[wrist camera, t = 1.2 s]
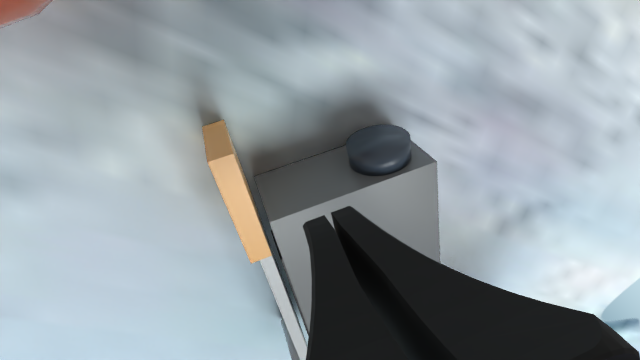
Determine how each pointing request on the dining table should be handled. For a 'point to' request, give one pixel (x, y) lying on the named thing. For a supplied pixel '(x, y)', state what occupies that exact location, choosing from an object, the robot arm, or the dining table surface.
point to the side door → (250, 226)
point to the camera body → (353, 198)
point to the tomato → (19, 10)
